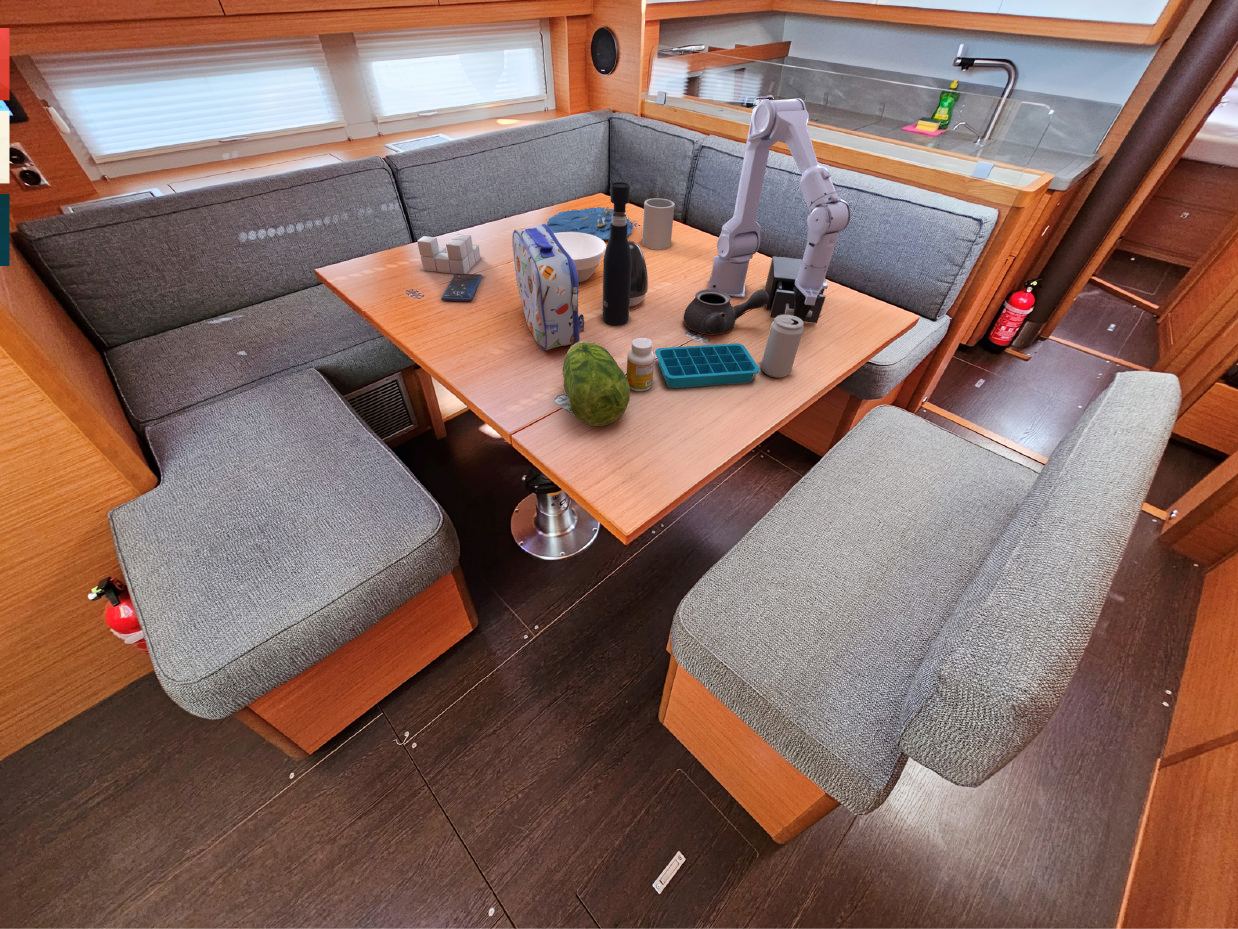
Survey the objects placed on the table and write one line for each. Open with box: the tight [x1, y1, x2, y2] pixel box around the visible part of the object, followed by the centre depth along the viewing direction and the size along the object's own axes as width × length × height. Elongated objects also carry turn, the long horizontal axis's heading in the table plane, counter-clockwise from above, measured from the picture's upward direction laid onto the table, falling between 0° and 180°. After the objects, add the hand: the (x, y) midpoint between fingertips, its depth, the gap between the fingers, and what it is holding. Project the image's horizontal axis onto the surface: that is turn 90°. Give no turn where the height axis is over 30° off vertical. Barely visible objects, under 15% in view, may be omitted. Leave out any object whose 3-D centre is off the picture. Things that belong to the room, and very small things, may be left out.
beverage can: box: [760, 315, 805, 379], centre depth 107 cm, size 6×6×12 cm
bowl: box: [554, 231, 607, 283], centre depth 140 cm, size 20×19×8 cm
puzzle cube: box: [416, 233, 482, 275], centre depth 142 cm, size 12×12×8 cm
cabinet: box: [764, 255, 827, 311], centre depth 133 cm, size 14×13×9 cm
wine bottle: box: [601, 181, 632, 327], centre depth 115 cm, size 6×6×30 cm
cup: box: [641, 197, 676, 250], centre depth 158 cm, size 9×9×12 cm
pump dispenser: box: [628, 240, 649, 307], centre depth 127 cm, size 10×10×15 cm
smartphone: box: [440, 273, 483, 302], centre depth 134 cm, size 8×1×15 cm
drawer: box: [769, 281, 826, 324], centre depth 127 cm, size 17×11×7 cm
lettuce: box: [562, 340, 631, 427], centre depth 97 cm, size 12×21×11 cm, turn 16°
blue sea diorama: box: [546, 206, 634, 240], centre depth 169 cm, size 30×30×5 cm
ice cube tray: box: [654, 342, 761, 389], centre depth 109 cm, size 12×20×3 cm, turn 100°
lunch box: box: [512, 223, 585, 351], centre depth 113 cm, size 28×10×22 cm, turn 22°
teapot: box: [683, 288, 769, 336], centre depth 120 cm, size 19×15×10 cm
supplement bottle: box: [625, 337, 656, 392], centre depth 102 cm, size 5×5×10 cm
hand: (798, 320), depth 120 cm, fingers closed
